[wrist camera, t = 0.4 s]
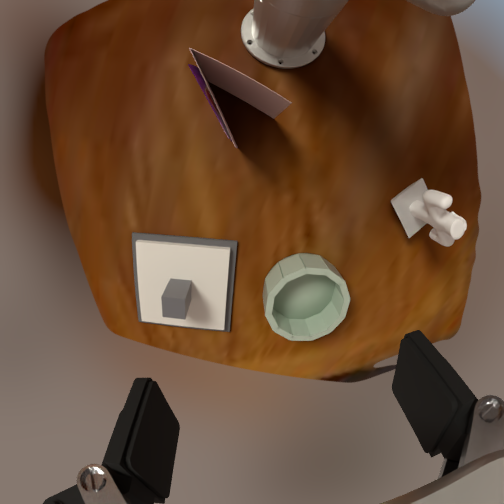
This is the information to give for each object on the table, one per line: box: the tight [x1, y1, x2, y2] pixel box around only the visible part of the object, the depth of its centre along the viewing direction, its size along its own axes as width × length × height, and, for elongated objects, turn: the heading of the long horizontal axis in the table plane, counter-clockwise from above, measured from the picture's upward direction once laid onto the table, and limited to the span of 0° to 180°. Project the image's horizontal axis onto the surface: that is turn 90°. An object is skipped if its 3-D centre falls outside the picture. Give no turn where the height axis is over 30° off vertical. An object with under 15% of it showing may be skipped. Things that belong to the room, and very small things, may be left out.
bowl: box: [263, 253, 350, 341], centre depth 45 cm, size 13×13×6 cm
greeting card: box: [188, 48, 291, 148], centre depth 30 cm, size 11×7×15 cm, turn 23°
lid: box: [136, 240, 230, 330], centre depth 43 cm, size 15×15×7 cm
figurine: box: [391, 178, 467, 246], centre depth 36 cm, size 7×9×15 cm
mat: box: [132, 232, 237, 332], centre depth 46 cm, size 17×17×1 cm
